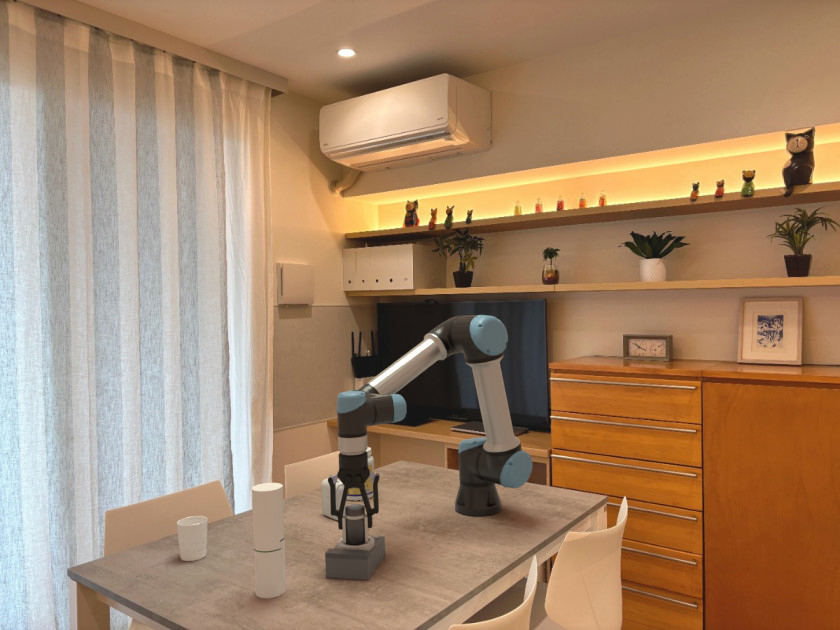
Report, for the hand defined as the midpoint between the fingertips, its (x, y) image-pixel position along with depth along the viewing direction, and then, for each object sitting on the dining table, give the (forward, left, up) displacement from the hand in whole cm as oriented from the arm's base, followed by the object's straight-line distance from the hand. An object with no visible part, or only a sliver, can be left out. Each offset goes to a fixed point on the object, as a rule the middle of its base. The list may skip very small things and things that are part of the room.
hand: (356, 540), depth 162 cm
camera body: (0, 0, -7) cm, 7 cm away
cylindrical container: (+16, +17, -7) cm, 24 cm away
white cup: (+47, 0, -7) cm, 47 cm away
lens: (0, 0, 0) cm, 0 cm away
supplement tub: (+18, -58, -7) cm, 61 cm away
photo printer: (+19, -36, -7) cm, 41 cm away
